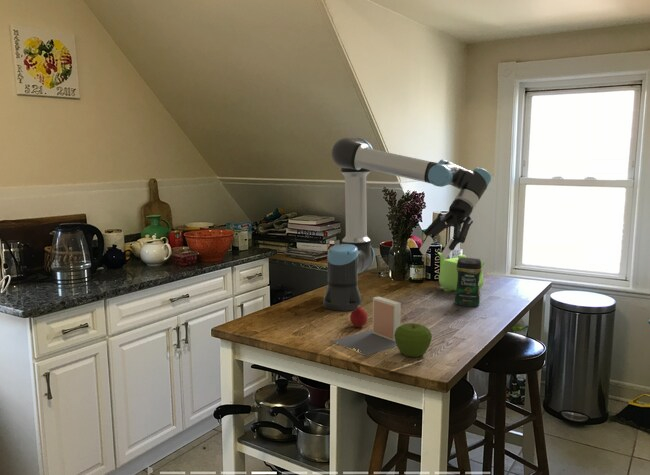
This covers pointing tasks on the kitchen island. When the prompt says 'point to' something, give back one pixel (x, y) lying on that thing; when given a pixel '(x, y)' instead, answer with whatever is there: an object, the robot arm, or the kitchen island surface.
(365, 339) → the mat
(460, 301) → the coffee jar
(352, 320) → the red pomegranate
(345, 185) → the robot arm
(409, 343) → the apple
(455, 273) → the teapot
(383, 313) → the tile
